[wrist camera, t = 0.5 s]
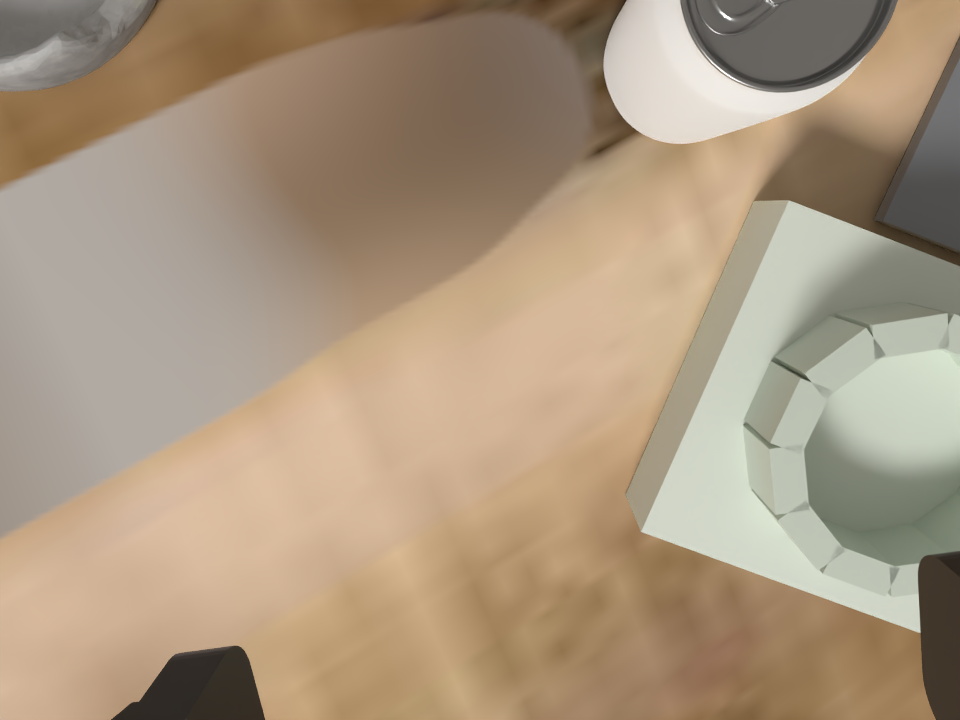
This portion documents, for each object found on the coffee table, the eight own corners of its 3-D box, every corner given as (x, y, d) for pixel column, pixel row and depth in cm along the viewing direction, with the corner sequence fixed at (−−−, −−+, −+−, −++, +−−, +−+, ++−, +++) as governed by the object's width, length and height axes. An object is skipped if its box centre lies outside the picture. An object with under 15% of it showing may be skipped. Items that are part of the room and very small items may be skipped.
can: (584, 4, 31) (636, -121, 19) (743, -44, 30) (898, -203, 18) (622, 164, 32) (693, 139, 20) (776, 120, 31) (941, 68, 20)
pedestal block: (753, 200, 32) (822, 199, 25) (1055, 317, 33) (1203, 346, 26) (625, 495, 35) (655, 566, 28) (905, 597, 35) (1002, 691, 28)
